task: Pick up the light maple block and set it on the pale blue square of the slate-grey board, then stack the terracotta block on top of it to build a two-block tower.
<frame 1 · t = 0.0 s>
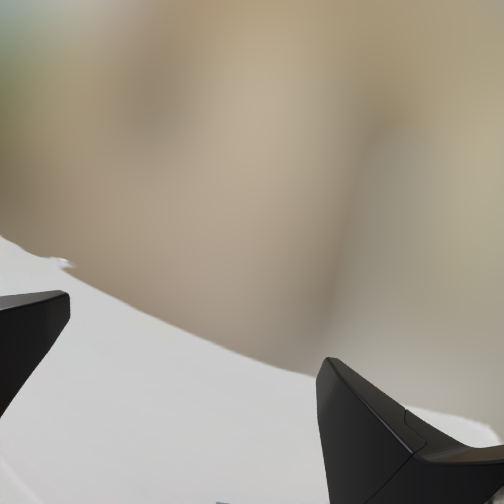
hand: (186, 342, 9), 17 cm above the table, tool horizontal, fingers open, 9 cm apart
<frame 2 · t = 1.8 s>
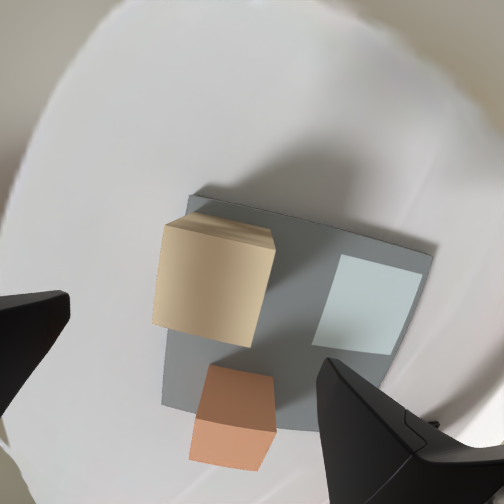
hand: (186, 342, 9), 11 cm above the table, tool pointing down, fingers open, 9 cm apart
terracotta block: (235, 393, 21), point 1 cm above the table, touching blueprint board
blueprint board: (288, 340, 21), on the table
maple block: (223, 257, 19), point 1 cm above the table, touching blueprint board
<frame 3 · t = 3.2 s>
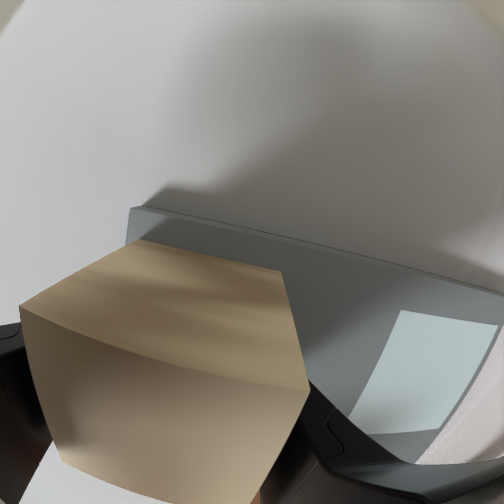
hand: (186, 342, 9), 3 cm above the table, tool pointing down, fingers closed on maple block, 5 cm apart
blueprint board: (303, 425, 13), on the table
maple block: (195, 320, 10), point 1 cm above the table, touching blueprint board, gripper
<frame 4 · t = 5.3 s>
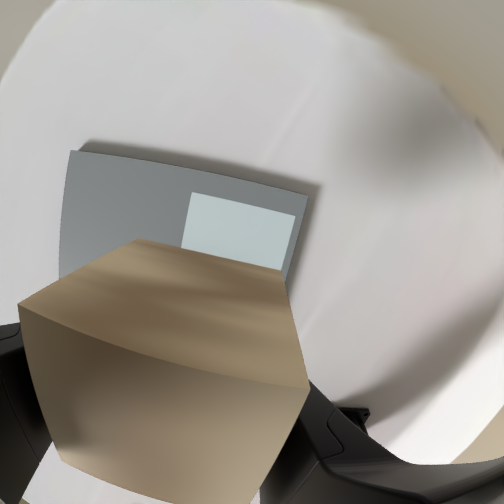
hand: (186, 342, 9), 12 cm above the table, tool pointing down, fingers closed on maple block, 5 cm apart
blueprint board: (158, 285, 21), on the table
maple block: (195, 319, 10), point 11 cm above the table, touching gripper
when the fingers open (4 cm above the table, at t = 7.3 s): maple block drops 1 cm, resting on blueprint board.
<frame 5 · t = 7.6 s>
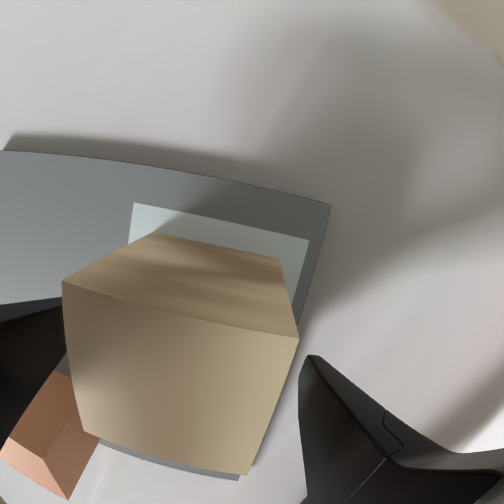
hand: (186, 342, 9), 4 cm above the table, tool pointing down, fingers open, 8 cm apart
terracotta block: (64, 399, 13), point 1 cm above the table, touching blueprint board
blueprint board: (104, 339, 13), on the table
maple block: (203, 303, 12), point 1 cm above the table, touching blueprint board
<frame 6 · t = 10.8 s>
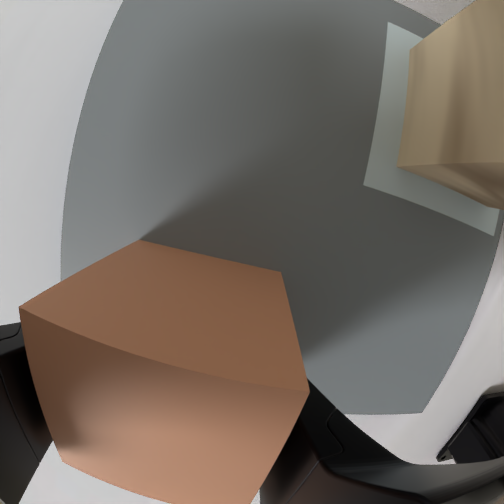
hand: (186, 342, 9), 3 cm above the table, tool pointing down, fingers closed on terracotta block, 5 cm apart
terracotta block: (195, 321, 10), point 1 cm above the table, touching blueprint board, gripper
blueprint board: (312, 187, 10), on the table
maple block: (456, 128, 8), point 1 cm above the table, touching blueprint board
when the fingers open (10 cm above the table, at t = 13.9 s): terracotta block drops 1 cm, resting on maple block.
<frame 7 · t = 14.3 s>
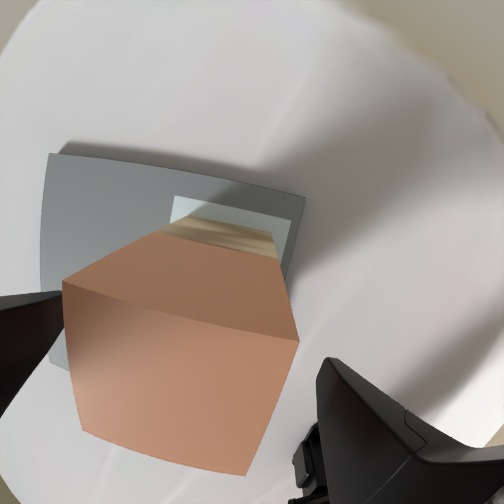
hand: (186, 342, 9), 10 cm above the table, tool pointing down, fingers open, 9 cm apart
terracotta block: (203, 304, 12), point 7 cm above the table, touching maple block
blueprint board: (142, 297, 19), on the table
maple block: (221, 264, 17), point 1 cm above the table, touching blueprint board, terracotta block
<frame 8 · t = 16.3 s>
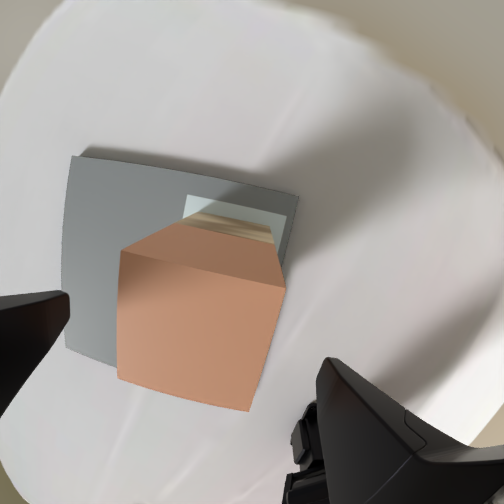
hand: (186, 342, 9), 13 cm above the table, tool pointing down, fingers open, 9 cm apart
terracotta block: (214, 281, 15), point 7 cm above the table, touching maple block
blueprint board: (156, 284, 22), on the table
maple block: (226, 253, 20), point 1 cm above the table, touching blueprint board, terracotta block
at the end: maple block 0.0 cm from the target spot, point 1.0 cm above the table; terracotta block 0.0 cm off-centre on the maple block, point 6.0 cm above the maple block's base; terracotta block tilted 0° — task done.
